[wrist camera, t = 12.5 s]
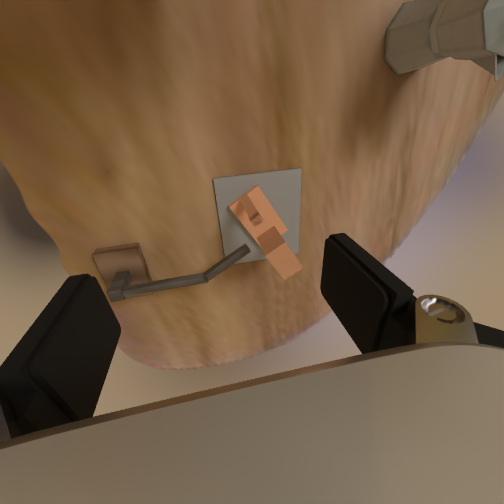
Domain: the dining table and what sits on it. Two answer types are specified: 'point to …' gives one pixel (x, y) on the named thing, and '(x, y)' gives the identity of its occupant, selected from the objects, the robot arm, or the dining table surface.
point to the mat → (279, 196)
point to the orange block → (266, 230)
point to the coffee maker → (446, 34)
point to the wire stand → (147, 271)
